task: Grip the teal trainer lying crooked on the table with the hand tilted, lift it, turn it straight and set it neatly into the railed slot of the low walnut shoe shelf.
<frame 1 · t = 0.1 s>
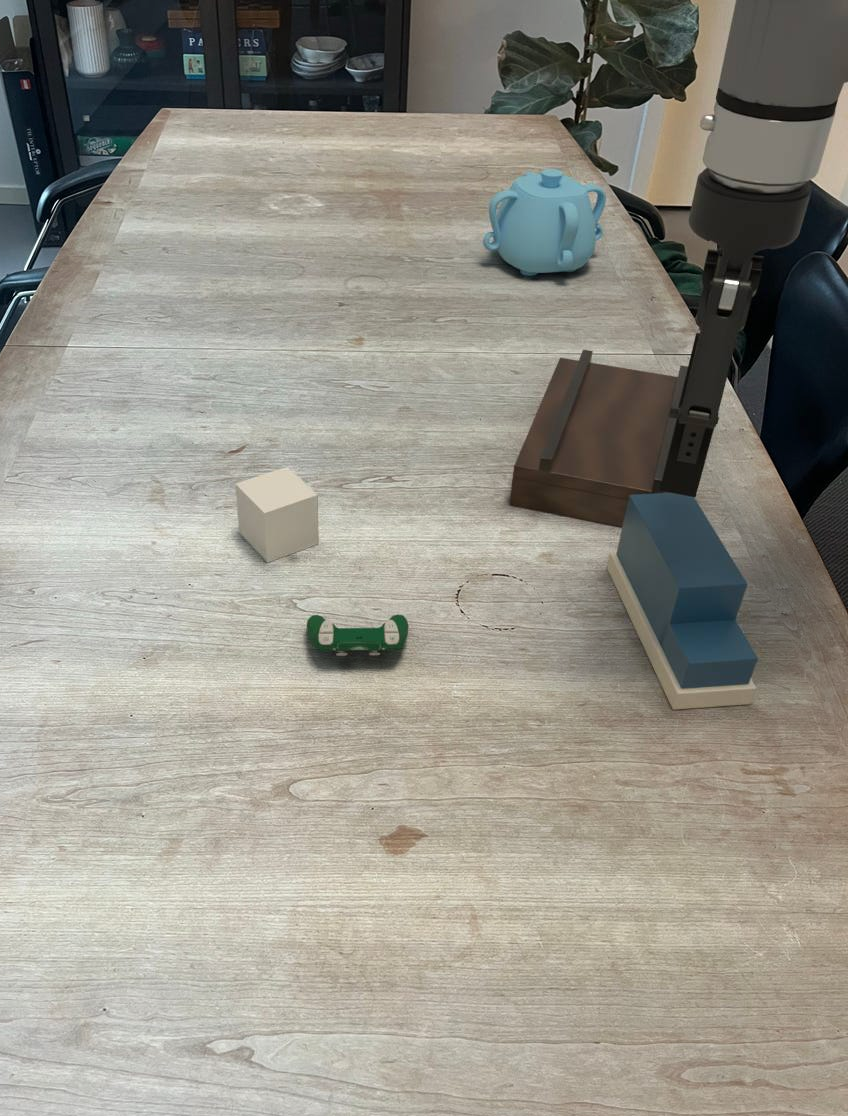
hand: (686, 448, 84), 19 cm above the table, tool pointing down, fingers open, 13 cm apart
beige cube: (278, 539, 106), on the table
shoe shelf: (610, 459, 119), on the table
trainer: (673, 630, 96), on the table
gaming controller: (357, 648, 94), on the table
decorative pot: (540, 263, 161), on the table
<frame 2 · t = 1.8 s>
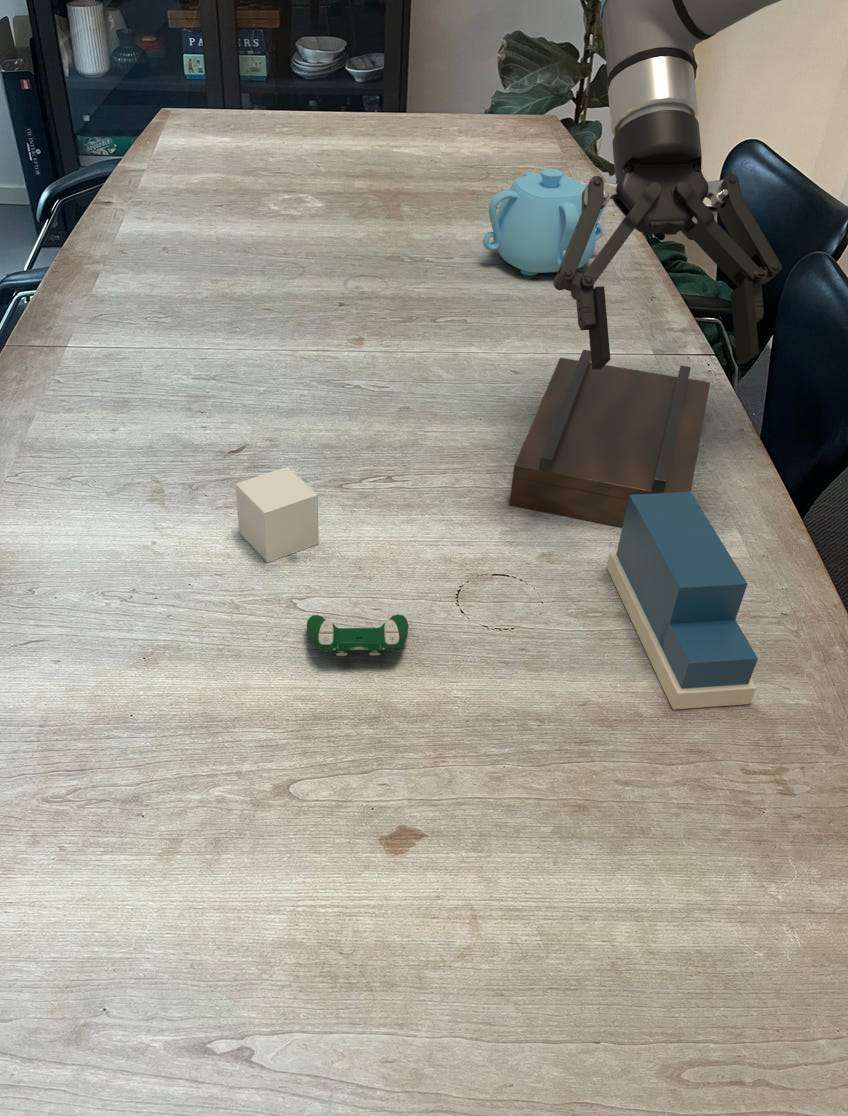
hand: (675, 362, 92), 21 cm above the table, tool tilted 45°, fingers open, 13 cm apart
nothing on the table moved.
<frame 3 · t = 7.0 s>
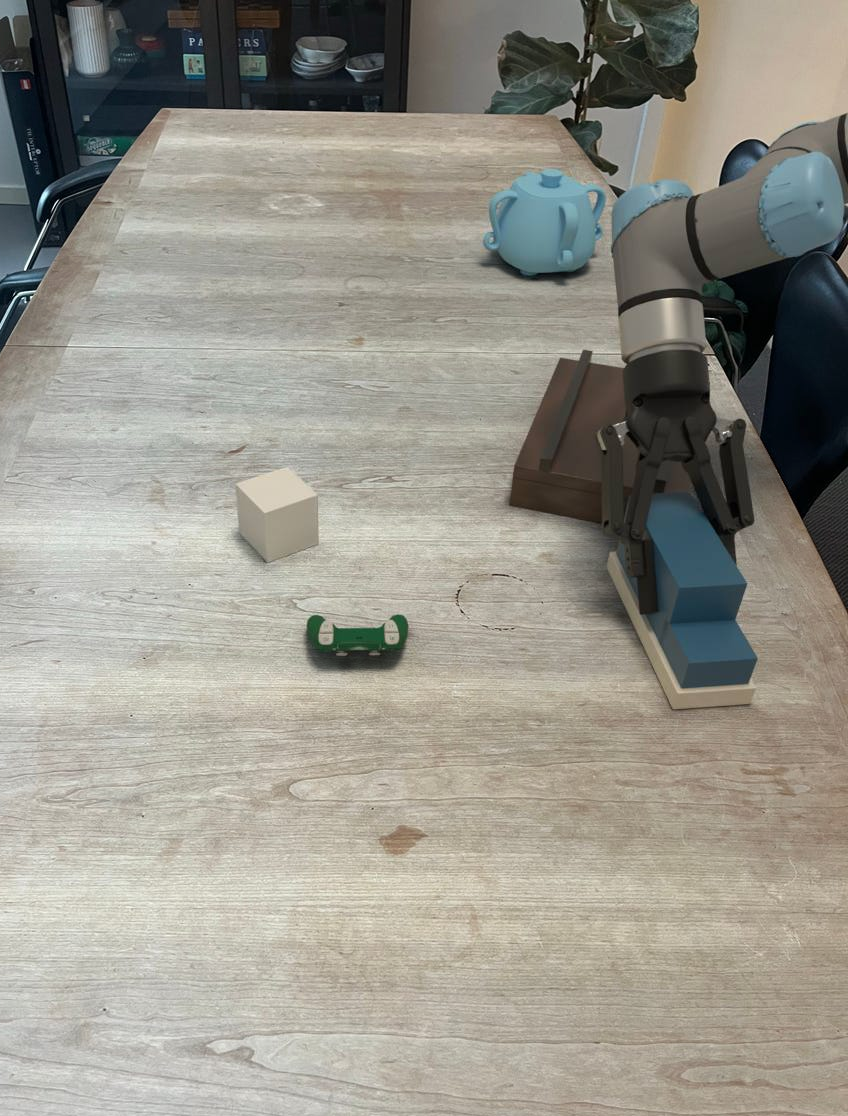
hand: (685, 610, 93), 3 cm above the table, tool tilted 45°, fingers closed on trainer, 6 cm apart
trainer: (673, 630, 96), on the table, touching gripper
everything else where it was.
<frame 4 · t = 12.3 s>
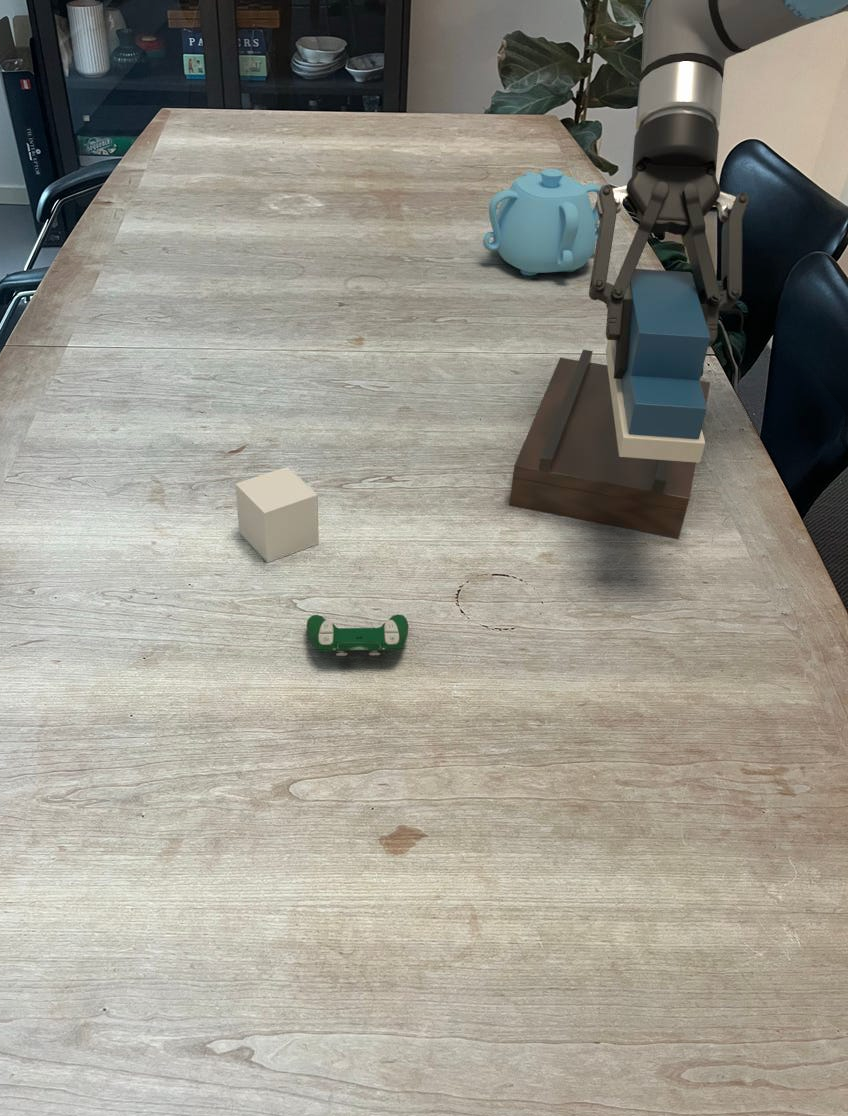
hand: (657, 376, 94), 19 cm above the table, tool tilted 45°, fingers closed on trainer, 6 cm apart
trainer: (649, 403, 97), point 15 cm above the table, touching gripper
everything else where it was.
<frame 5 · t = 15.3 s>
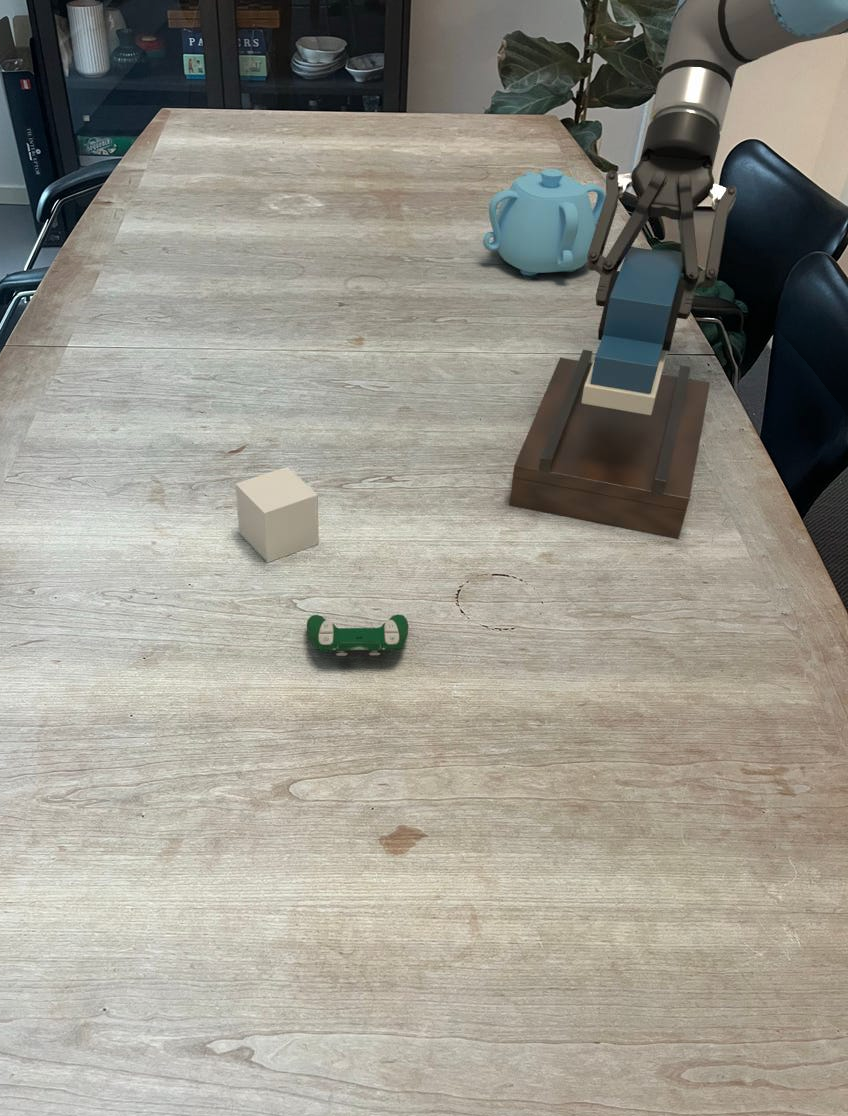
hand: (634, 340, 108), 15 cm above the table, tool tilted 45°, fingers closed on trainer, 6 cm apart
trainer: (629, 365, 111), point 12 cm above the table, touching gripper
everything else where it was.
when the fingers open (8 cm above the table, at t = 17.4 s): trainer stays where it is, resting on shoe shelf.
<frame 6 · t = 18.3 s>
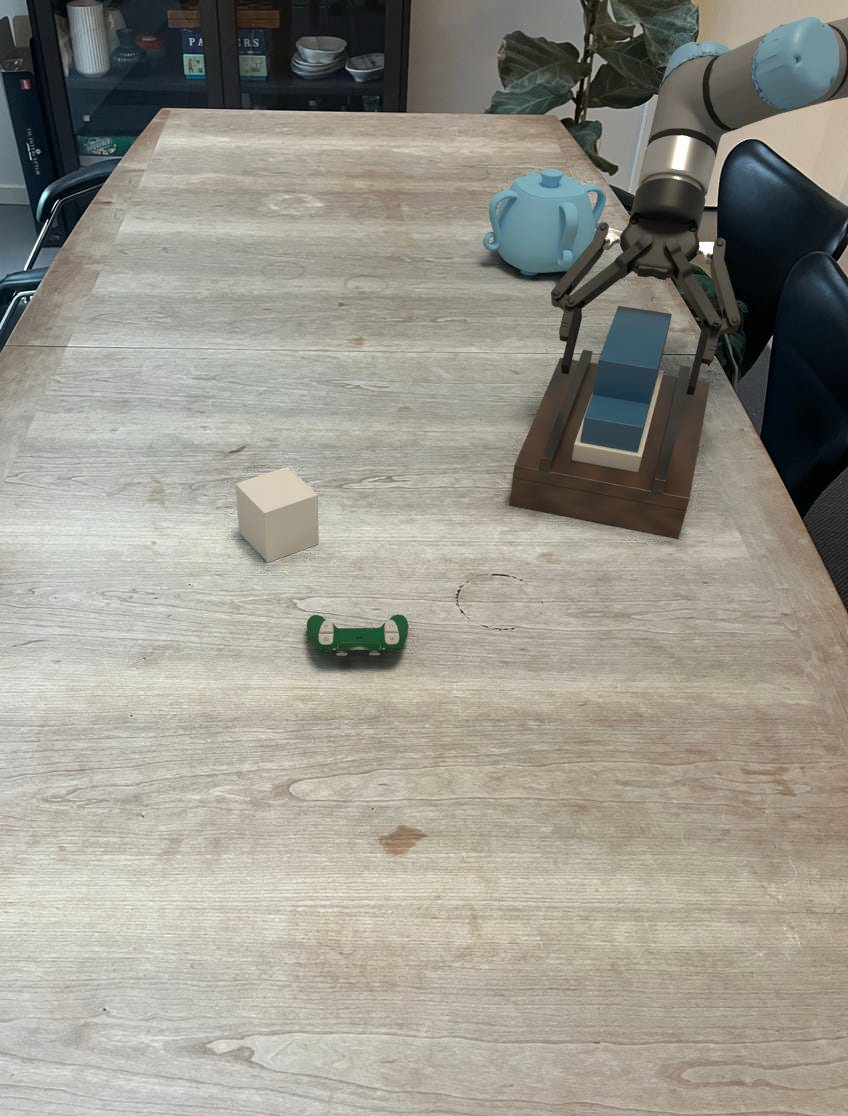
hand: (626, 380, 112), 10 cm above the table, tool tilted 45°, fingers open, 13 cm apart
trainer: (618, 421, 115), point 5 cm above the table, touching shoe shelf
everything else where it was.
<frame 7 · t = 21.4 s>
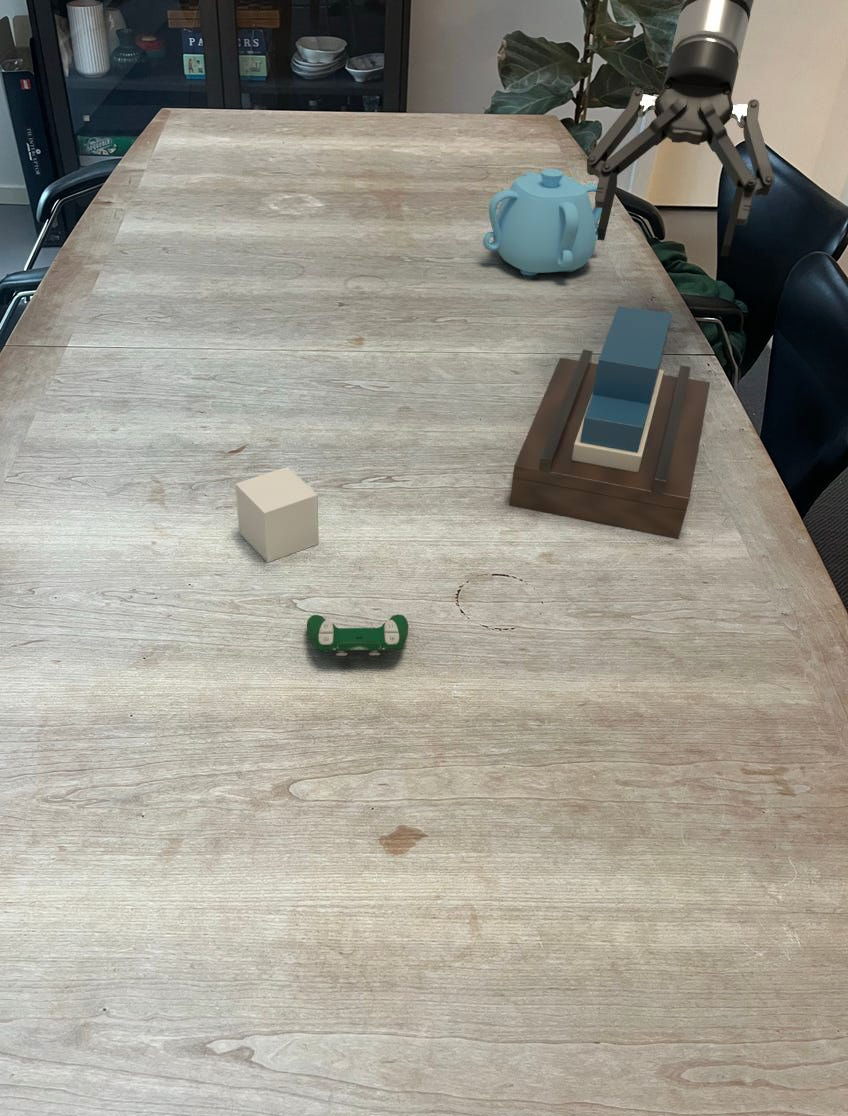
hand: (662, 243, 114), 20 cm above the table, tool tilted 45°, fingers open, 13 cm apart
nothing on the table moved.
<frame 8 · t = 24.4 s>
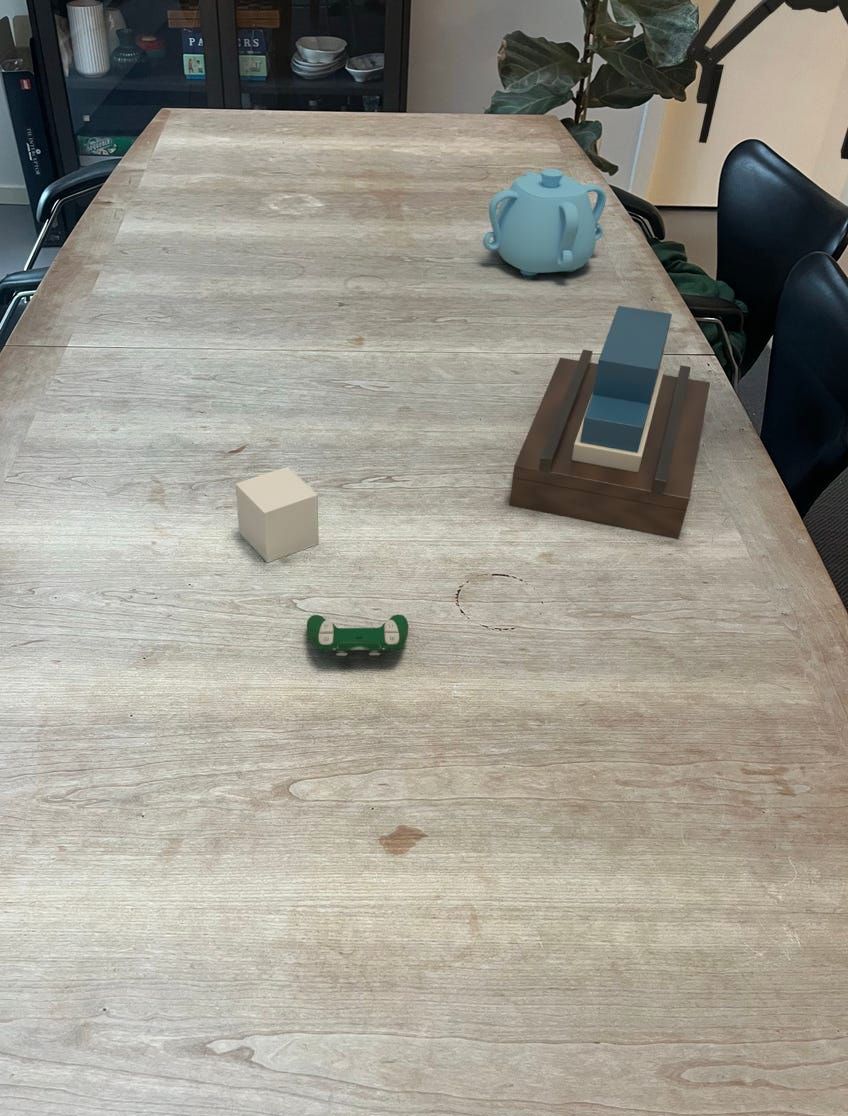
hand: (772, 147, 103), 32 cm above the table, tool pointing down, fingers open, 13 cm apart
nothing on the table moved.
at the end: trainer inside the target area on the shoe shelf (0.0 cm from its centre), point 5.0 cm above the shoe shelf's base; trainer tilted 0°; the gripper is holding nothing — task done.
